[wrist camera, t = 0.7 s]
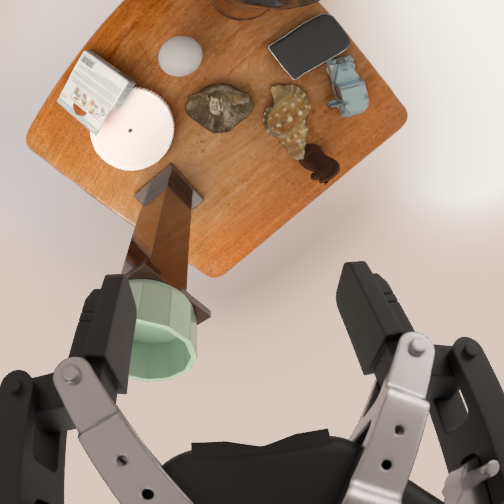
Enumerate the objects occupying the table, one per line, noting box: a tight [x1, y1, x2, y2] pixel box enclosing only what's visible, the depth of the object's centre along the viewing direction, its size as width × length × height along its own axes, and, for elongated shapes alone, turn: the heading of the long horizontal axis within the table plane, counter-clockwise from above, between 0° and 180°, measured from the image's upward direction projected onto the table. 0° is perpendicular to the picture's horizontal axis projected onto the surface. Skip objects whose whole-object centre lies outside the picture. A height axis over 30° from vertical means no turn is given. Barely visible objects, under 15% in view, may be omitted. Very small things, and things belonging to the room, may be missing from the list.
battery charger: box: [268, 13, 350, 80], centre depth 41 cm, size 7×4×11 cm
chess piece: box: [299, 144, 340, 185], centre depth 51 cm, size 5×5×10 cm
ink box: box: [57, 50, 136, 136], centre depth 40 cm, size 2×11×10 cm
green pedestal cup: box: [121, 163, 211, 381], centre depth 43 cm, size 11×11×34 cm
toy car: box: [325, 55, 368, 117], centre depth 45 cm, size 6×10×5 cm, turn 20°
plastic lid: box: [90, 87, 175, 171], centre depth 46 cm, size 14×14×2 cm
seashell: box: [263, 84, 311, 160], centre depth 48 cm, size 9×8×10 cm
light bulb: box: [158, 36, 202, 77], centre depth 38 cm, size 6×6×10 cm
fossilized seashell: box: [185, 83, 254, 133], centre depth 46 cm, size 8×7×10 cm
